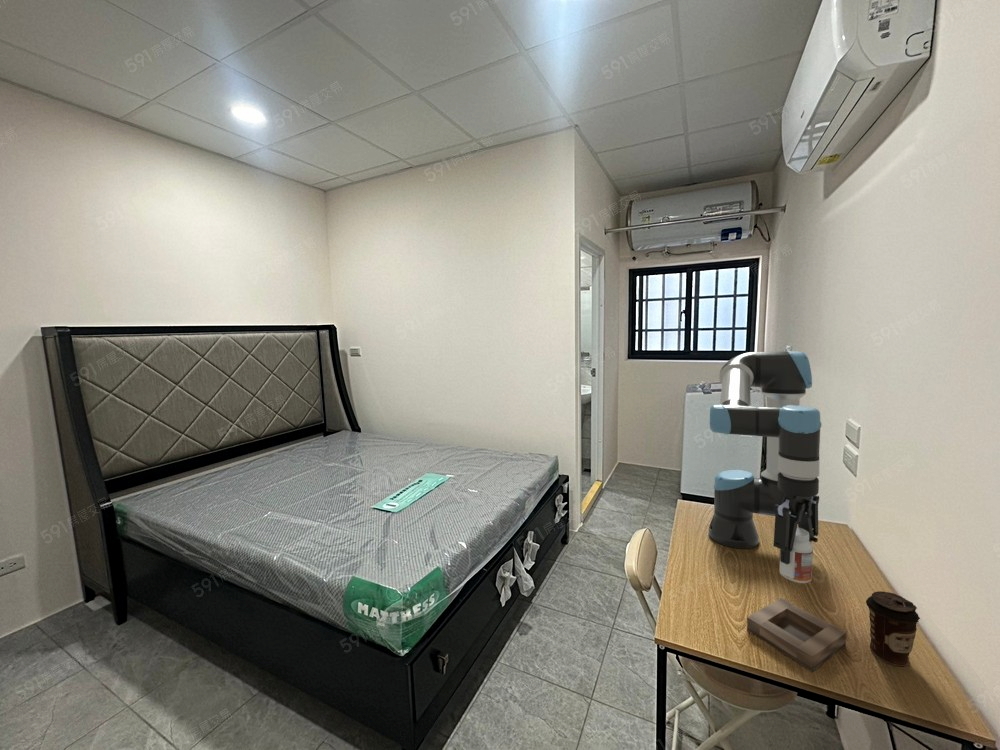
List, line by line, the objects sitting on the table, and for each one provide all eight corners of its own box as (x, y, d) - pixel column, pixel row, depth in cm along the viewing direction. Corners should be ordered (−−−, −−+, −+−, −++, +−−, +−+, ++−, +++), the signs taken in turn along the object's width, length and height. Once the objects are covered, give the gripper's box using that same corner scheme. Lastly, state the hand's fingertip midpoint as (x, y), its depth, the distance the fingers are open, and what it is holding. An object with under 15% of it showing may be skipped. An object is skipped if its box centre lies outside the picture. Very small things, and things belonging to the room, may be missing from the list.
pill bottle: (772, 570, 97) (773, 526, 96) (795, 566, 98) (796, 523, 97) (795, 586, 91) (796, 539, 90) (819, 582, 92) (820, 535, 91)
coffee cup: (928, 665, 87) (931, 609, 85) (901, 676, 84) (904, 619, 83) (880, 637, 95) (882, 585, 94) (854, 646, 93) (857, 593, 91)
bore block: (780, 610, 105) (781, 597, 105) (845, 646, 93) (846, 632, 92) (747, 630, 99) (747, 617, 99) (811, 671, 87) (812, 656, 86)
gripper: (803, 462, 99) (801, 551, 102) (755, 478, 91) (753, 575, 93) (839, 471, 93) (836, 566, 95) (791, 489, 84) (789, 593, 87)
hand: (795, 570), depth 94 cm, fingers closed on pill bottle, 6 cm apart
